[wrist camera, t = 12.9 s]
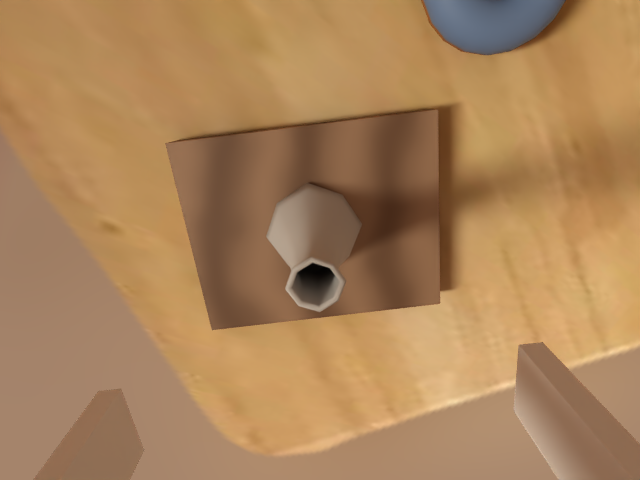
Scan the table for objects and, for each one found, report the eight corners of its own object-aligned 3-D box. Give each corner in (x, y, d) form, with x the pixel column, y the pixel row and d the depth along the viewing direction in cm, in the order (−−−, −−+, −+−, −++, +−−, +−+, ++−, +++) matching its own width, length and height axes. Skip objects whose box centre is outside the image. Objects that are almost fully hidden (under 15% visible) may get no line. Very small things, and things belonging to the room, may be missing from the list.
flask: (377, 221, 30) (408, 274, 21) (322, 286, 32) (327, 362, 22) (304, 165, 28) (302, 195, 19) (250, 237, 30) (223, 297, 21)
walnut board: (429, 109, 29) (438, 109, 27) (433, 292, 35) (440, 303, 33) (174, 141, 30) (165, 143, 28) (217, 317, 35) (212, 330, 33)
